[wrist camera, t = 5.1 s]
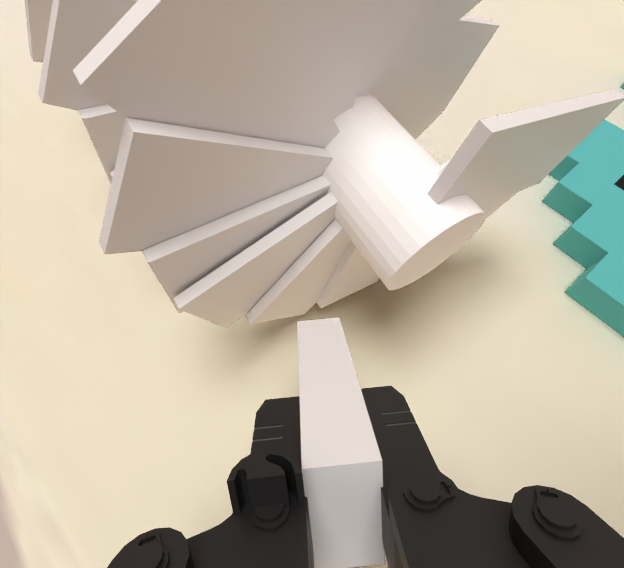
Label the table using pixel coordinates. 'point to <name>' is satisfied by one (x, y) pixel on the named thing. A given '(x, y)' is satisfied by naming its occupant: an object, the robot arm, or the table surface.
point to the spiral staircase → (289, 140)
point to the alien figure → (594, 220)
